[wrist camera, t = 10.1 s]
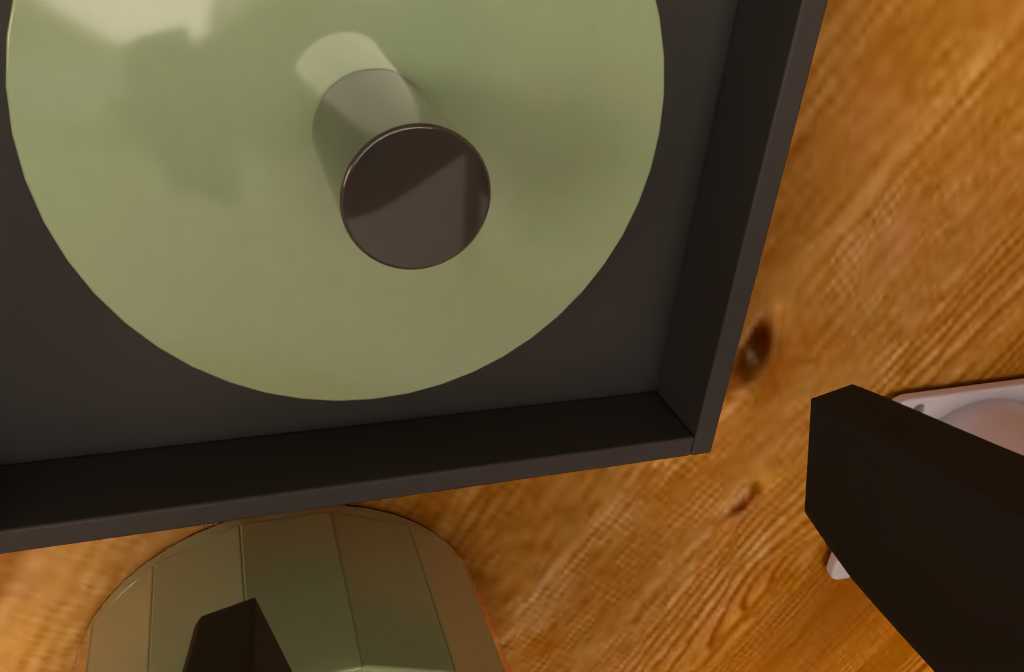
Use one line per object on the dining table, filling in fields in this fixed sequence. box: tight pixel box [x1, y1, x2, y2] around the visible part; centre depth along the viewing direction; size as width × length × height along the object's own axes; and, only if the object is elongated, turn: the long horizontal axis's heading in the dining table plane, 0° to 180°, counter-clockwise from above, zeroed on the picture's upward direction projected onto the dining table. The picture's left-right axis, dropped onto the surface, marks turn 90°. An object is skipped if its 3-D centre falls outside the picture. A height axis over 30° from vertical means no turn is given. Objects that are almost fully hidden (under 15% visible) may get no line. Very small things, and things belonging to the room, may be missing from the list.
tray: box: [0, 0, 828, 554], centre depth 16 cm, size 17×16×3 cm
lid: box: [5, 0, 664, 401], centre depth 15 cm, size 12×12×5 cm
